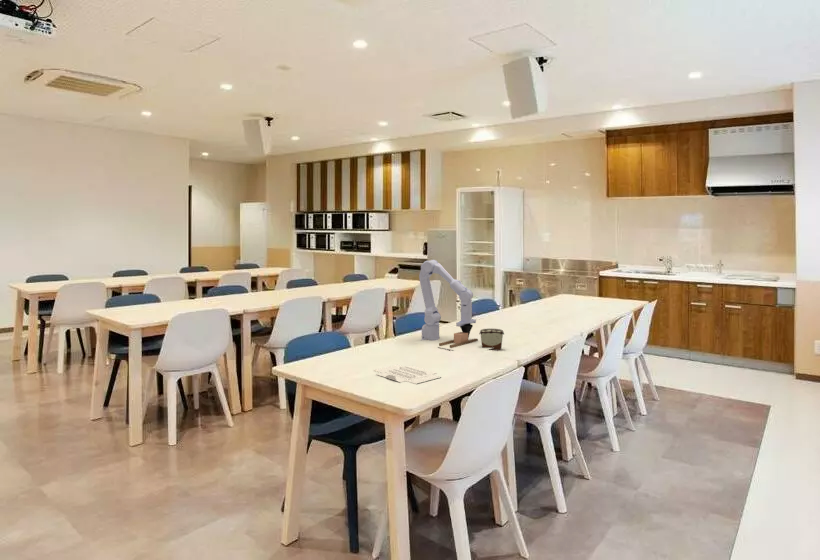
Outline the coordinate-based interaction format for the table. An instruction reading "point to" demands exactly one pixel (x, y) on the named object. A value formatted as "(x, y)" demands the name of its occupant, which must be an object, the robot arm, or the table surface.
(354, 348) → the table surface
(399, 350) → the table surface
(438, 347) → the chute
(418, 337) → the table surface
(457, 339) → the block
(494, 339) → the food container
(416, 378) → the white printed sheet
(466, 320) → the robot arm
